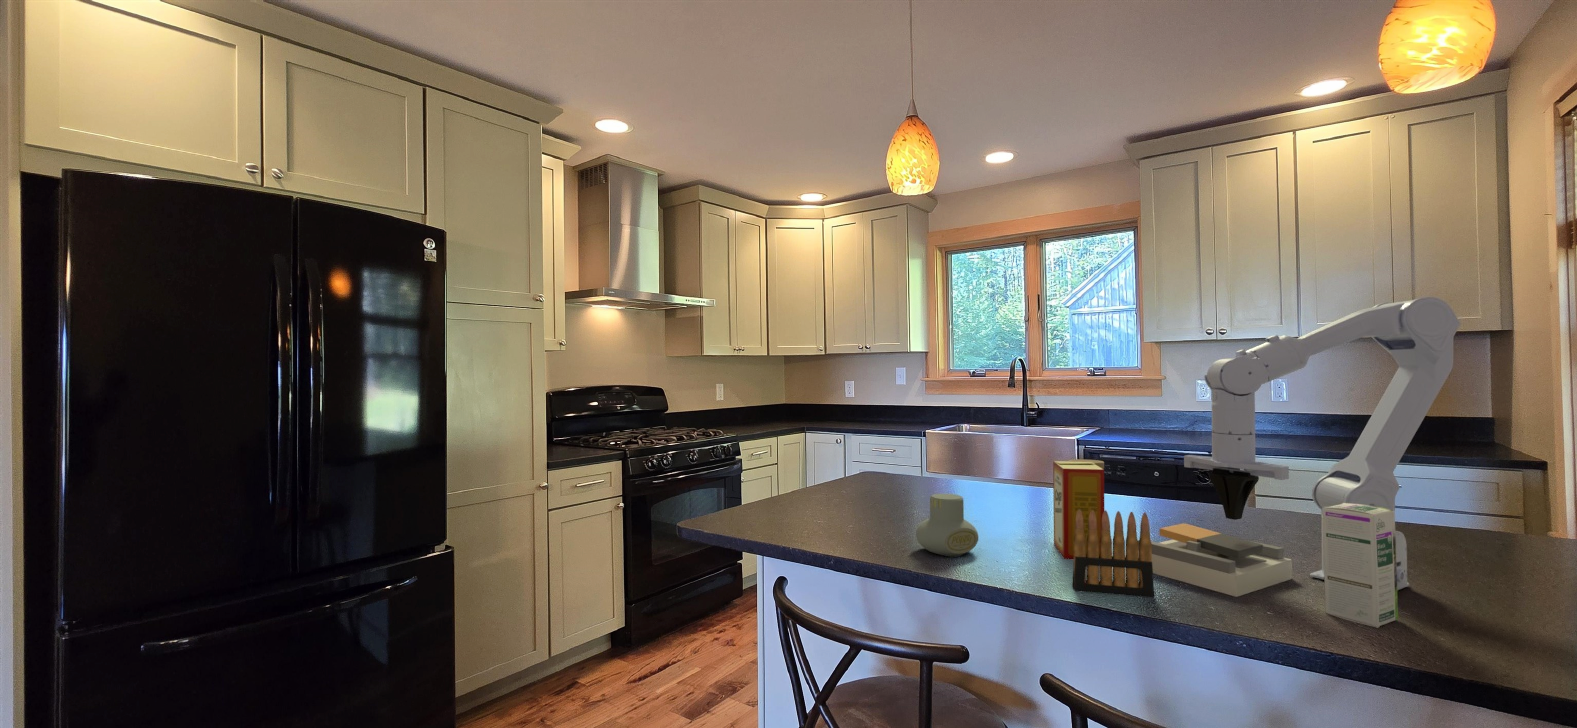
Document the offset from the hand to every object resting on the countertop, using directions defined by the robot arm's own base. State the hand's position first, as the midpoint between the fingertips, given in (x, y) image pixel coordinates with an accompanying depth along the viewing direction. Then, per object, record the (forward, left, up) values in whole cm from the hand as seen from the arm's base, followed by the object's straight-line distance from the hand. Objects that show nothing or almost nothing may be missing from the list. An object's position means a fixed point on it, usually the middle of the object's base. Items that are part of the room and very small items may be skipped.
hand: (1233, 518), depth 103 cm
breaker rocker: (+2, +3, -4) cm, 6 cm away
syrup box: (-18, +5, -9) cm, 20 cm away
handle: (+25, +2, -9) cm, 27 cm away
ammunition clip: (+4, +24, -9) cm, 26 cm away
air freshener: (+32, +31, -9) cm, 46 cm away
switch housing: (+2, +3, -9) cm, 10 cm away
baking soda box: (+20, +11, -9) cm, 25 cm away
